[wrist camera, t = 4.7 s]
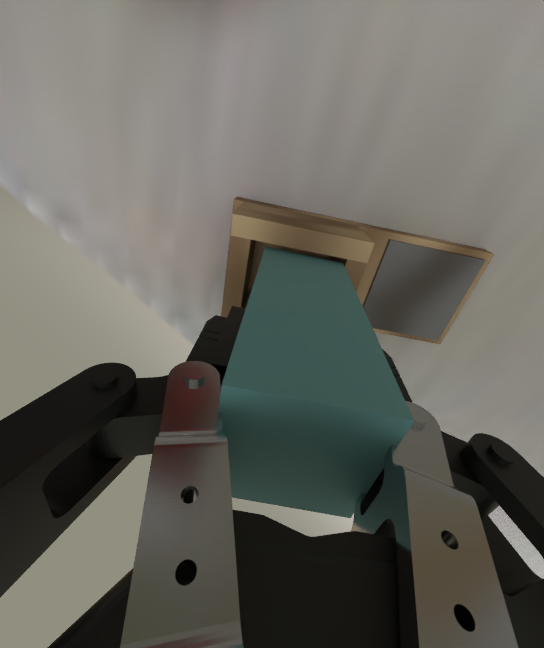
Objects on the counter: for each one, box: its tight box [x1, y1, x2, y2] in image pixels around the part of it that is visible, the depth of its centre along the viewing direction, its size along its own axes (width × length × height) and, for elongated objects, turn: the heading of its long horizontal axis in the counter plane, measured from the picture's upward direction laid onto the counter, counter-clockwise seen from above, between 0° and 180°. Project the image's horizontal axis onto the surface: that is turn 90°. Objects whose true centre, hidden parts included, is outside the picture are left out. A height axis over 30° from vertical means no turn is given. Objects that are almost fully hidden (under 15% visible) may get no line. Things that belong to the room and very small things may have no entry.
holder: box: [221, 197, 494, 344], centre depth 17 cm, size 16×7×5 cm, turn 79°
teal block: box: [218, 247, 414, 518], centre depth 11 cm, size 4×4×10 cm
